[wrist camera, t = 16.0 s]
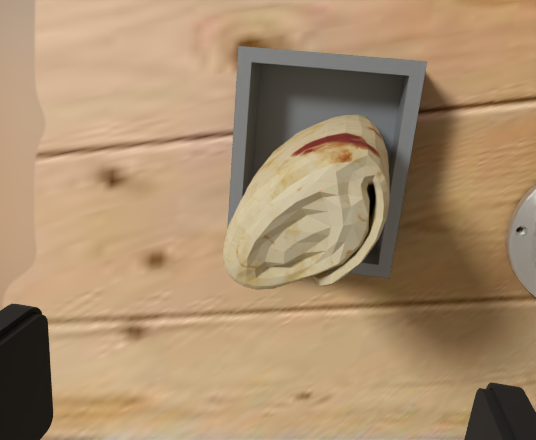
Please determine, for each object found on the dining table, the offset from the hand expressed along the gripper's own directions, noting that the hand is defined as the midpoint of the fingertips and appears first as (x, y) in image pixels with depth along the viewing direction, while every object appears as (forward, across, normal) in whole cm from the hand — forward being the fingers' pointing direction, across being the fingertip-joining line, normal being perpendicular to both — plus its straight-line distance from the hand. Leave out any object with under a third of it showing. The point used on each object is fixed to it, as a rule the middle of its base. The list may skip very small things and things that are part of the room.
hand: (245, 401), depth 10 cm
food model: (+31, 0, 0) cm, 31 cm away
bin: (+32, 0, 0) cm, 32 cm away
